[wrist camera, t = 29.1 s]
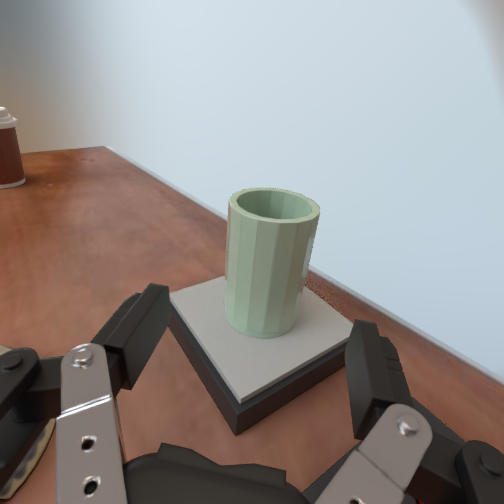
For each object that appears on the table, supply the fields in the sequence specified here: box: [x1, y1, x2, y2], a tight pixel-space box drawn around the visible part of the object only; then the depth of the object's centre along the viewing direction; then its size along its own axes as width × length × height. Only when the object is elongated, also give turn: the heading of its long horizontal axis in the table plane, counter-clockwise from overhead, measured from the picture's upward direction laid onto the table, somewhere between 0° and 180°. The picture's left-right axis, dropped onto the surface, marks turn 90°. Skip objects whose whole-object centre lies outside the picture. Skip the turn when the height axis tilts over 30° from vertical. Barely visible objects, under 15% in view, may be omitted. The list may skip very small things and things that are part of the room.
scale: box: [168, 276, 353, 435], centre depth 27 cm, size 13×13×3 cm
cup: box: [223, 188, 320, 339], centre depth 24 cm, size 6×6×10 cm
